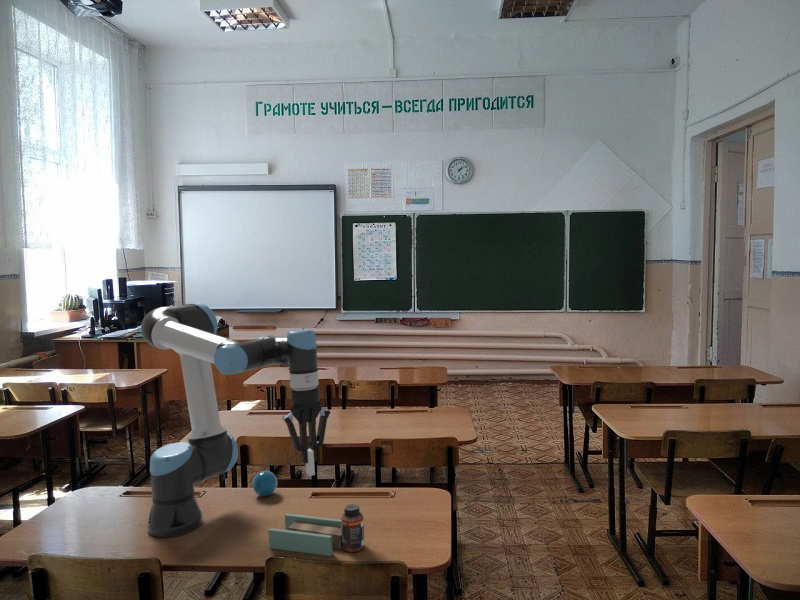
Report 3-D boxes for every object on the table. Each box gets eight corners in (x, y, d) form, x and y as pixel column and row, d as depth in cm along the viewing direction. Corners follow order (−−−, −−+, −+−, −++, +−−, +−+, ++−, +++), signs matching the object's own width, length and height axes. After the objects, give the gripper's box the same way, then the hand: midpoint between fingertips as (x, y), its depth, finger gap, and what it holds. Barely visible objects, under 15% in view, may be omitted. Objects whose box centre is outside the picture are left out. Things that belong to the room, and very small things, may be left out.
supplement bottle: (369, 547, 160) (367, 506, 159) (351, 555, 156) (350, 513, 155) (355, 540, 164) (353, 500, 163) (337, 547, 160) (336, 507, 159)
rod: (288, 541, 165) (287, 527, 165) (295, 534, 169) (295, 521, 168) (341, 550, 160) (340, 535, 159) (347, 542, 163) (346, 528, 163)
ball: (281, 491, 199) (280, 467, 199) (271, 501, 192) (270, 476, 191) (259, 489, 201) (258, 466, 201) (248, 499, 193) (247, 475, 193)
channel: (269, 547, 161) (268, 530, 161) (287, 530, 171) (286, 513, 171) (330, 556, 156) (330, 537, 155) (345, 537, 166) (345, 520, 165)
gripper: (285, 393, 153) (291, 483, 154) (332, 386, 159) (338, 472, 161) (276, 388, 159) (282, 475, 161) (322, 381, 166) (327, 464, 167)
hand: (310, 473), depth 161 cm, fingers closed
